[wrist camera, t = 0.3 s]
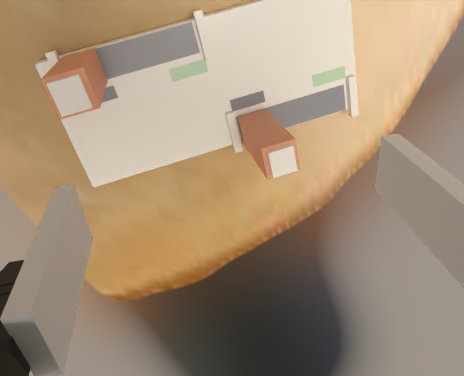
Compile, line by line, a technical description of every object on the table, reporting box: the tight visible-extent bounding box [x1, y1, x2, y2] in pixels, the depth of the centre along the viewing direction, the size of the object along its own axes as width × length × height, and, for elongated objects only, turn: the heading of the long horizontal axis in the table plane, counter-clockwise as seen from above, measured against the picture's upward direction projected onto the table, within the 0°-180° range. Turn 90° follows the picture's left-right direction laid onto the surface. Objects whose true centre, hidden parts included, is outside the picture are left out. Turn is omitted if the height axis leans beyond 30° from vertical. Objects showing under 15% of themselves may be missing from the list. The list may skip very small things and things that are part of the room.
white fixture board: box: [35, 0, 359, 188], centre depth 40 cm, size 14×30×3 cm, turn 103°
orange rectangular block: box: [237, 109, 300, 179], centre depth 37 cm, size 3×3×10 cm
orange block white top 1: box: [40, 48, 108, 120], centre depth 31 cm, size 3×3×10 cm
